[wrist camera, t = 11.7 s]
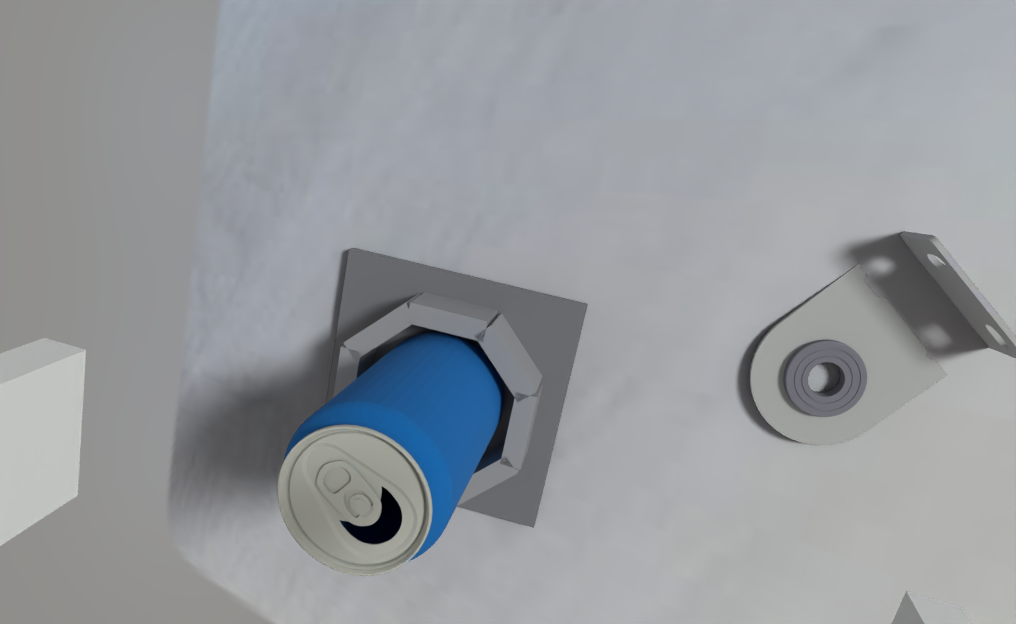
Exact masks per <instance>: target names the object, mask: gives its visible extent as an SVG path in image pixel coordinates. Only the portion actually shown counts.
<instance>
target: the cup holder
mask: <svg viewBox="0 0 1016 624" xmlns="http://www.w3.org/2000/svg"><path fill="white" fill-rule="evenodd" d="M587 305H588V304H586V303H581V302H577V301H573V300H569V299H565V298H561V297H556V296H552V295H548V294H544V293H540V292H536V291H531V290H527V289H523V288H519V287H515V286H511V285H506V284H502V283H498V282H494V281H490V280H485V279H481V278H477V277H473V276H469V275H465V274H460V273H456V272H452V271H448V270H444V269H440V268H435V267H431V266H427V265H423V264H419V263H415V262H410V261H406V260H402V259H398V258H394V257H390V256H385V255H381V254H377V253H373V252H369V251H364V250H360V249H356V248H352V249H349V252H348V259H347V266H346V272H345V279H344V286H343V293H342V299H341V306H340V313H339V319H338V326H337V333H336V339H335V346H334V353H333V359H332V366H331V373H330V379H329V386H328V393H327V399H326V403H327V402H329V401H330V400H331V399H332V398H334V397H335V396H336V395H337V394H338V393H340V392H341V391H342V390H343V389H345V388H346V387H347V386H348V385H349V384H351V383H352V382H353V381H354V380H356V379H357V378H358V377H359V376H360V375H362V374H363V373H364V372H365V371H367V370H368V369H369V368H370V367H371V366H373V365H374V364H375V363H376V362H378V361H379V360H380V359H381V358H382V357H384V356H385V355H386V354H387V353H389V352H390V351H391V350H392V349H393V348H395V347H396V346H397V345H399V344H400V343H401V342H403V341H404V340H406V339H408V338H410V337H413V336H415V335H419V334H423V333H432V332H437V333H447V334H452V335H455V336H458V337H461V338H463V339H465V340H467V341H469V342H470V343H472V344H474V345H475V346H476V347H478V348H479V349H480V350H481V351H482V352H483V353H484V354H485V355H486V356H487V357H488V358H489V360H490V361H491V362H492V364H493V365H494V367H495V369H496V370H497V373H498V375H499V377H500V380H501V384H502V388H503V395H504V405H503V412H502V416H501V419H500V422H499V424H498V426H497V428H496V430H495V432H494V434H493V436H492V438H491V440H490V442H489V444H488V446H487V448H486V450H485V452H484V454H483V456H482V458H481V460H480V461H479V463H478V465H477V467H476V469H475V471H474V473H473V475H472V477H471V479H470V481H469V483H468V485H467V487H466V489H465V491H464V493H463V495H462V497H461V498H460V500H459V502H458V504H457V506H458V507H462V508H465V509H469V510H472V511H476V512H480V513H483V514H487V515H490V516H494V517H498V518H501V519H505V520H508V521H512V522H515V523H519V524H523V525H526V526H530V527H533V528H534V525H535V521H536V517H537V513H538V509H539V505H540V500H541V496H542V492H543V488H544V484H545V480H546V475H547V471H548V467H549V463H550V459H551V455H552V450H553V446H554V442H555V438H556V434H557V430H558V425H559V421H560V417H561V413H562V409H563V405H564V400H565V396H566V392H567V388H568V384H569V380H570V375H571V371H572V367H573V363H574V359H575V355H576V350H577V346H578V342H579V338H580V334H581V330H582V325H583V321H584V317H585V313H586V309H587Z"/></svg>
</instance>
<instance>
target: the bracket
mask: <svg viewBox="0 0 1016 624" xmlns="http://www.w3.org/2000/svg"><path fill="white" fill-rule="evenodd" d="M899 236H900V237H901V238H902V239H903V241H904V242H905V243H906V244H907V246H908V248H909V249H910V250H911V251H912V253H913V254H914V255H915V256H916V258H917V259H918V260H919V261H920V263H921V264H922V265H923V266H924V268H925V269H926V270H927V271H928V272H929V274H930V275H931V276H932V277H933V279H934V280H935V281H936V282H937V284H938V285H939V286H940V287H941V289H942V290H943V291H944V292H945V294H946V295H947V296H948V297H949V299H950V300H951V301H952V302H953V304H954V305H955V306H956V307H957V309H958V310H959V311H960V312H961V314H962V315H963V316H964V317H965V319H966V320H967V321H968V322H969V324H970V325H971V326H972V327H973V329H974V330H975V331H976V332H977V333H978V335H979V336H980V337H981V338H982V339H983V340H984V341H985V343H986V344H987V345H988V346H989V348H991V349H994V350H996V351H999V352H1001V353H1004V354H1006V355H1009V356H1011V357H1014V358H1016V336H1015V334H1014V333H1013V332H1012V331H1011V329H1010V328H1009V327H1008V326H1007V324H1006V323H1005V322H1004V321H1003V319H1002V318H1001V317H1000V316H999V314H998V313H997V312H996V311H995V309H994V308H993V307H992V306H991V304H990V303H989V302H988V301H987V299H986V298H985V297H984V296H983V294H982V293H981V292H980V291H979V289H978V288H977V287H976V286H975V284H974V283H973V282H972V281H971V279H970V278H969V277H968V276H967V274H966V273H965V272H964V271H963V269H962V268H961V267H960V266H959V264H958V263H957V262H956V261H955V259H954V258H953V257H952V256H951V254H950V253H949V252H948V251H947V249H946V248H945V247H944V245H943V244H942V243H941V242H940V241H939V240H938V239H937V238H936V237H935V236H933V235H926V234H919V233H912V232H905V231H904V232H902V233H901V234H900V235H899ZM934 255H935V256H937V257H939V258H940V259H941V260H942V261H943V262H944V263H945V264H946V265H944V264H942V263H941V262H940V261H939V260H938V259H937V258H936V257H935V256H934ZM866 276H867V274H866V273H865V272H864V270H863V269H862V268H861V267H860V265H859V264H858V265H856V266H855V267H854V268H852V269H851V270H849V271H848V272H847V273H845V274H844V275H842V276H841V277H840V278H838V279H837V280H836V281H834V282H833V283H831V284H830V285H829V286H827V287H826V288H824V289H823V290H822V291H820V292H819V293H817V294H816V295H815V296H813V297H812V298H811V299H809V300H808V301H806V302H805V303H804V304H802V305H801V306H800V307H798V308H797V309H796V310H794V311H793V312H792V313H790V314H789V315H788V316H786V317H785V318H784V319H782V320H781V321H780V322H778V323H777V324H776V325H775V326H774V327H773V328H771V329H770V330H769V332H768V333H767V334H766V335H765V336H764V337H763V339H762V340H761V342H760V343H759V345H758V347H757V349H756V351H755V353H754V356H753V359H752V362H751V368H750V389H751V393H752V397H753V400H754V402H755V404H756V407H757V408H758V410H759V412H760V413H761V415H762V416H763V417H764V419H765V420H766V421H767V422H768V423H769V424H770V425H771V426H772V427H773V428H774V429H775V430H777V431H778V432H780V433H781V434H782V435H784V436H786V437H788V438H790V439H792V440H795V441H798V442H801V443H806V444H811V445H832V444H838V443H842V442H845V441H849V440H851V439H854V438H856V437H858V436H860V435H862V434H863V433H865V432H866V431H868V430H869V429H871V428H872V427H874V426H875V425H877V424H878V423H879V422H881V421H882V420H884V419H885V418H887V417H888V416H889V415H891V414H892V413H894V412H895V411H897V410H898V409H899V408H901V407H902V406H904V405H905V404H907V403H908V402H909V401H911V400H912V399H914V398H915V397H917V396H918V395H919V394H921V393H922V392H924V391H925V390H927V389H928V388H929V387H931V386H932V385H934V384H935V383H937V382H938V381H939V380H941V379H942V378H944V377H945V376H946V375H947V374H946V372H945V371H944V370H943V369H942V367H941V366H940V365H939V364H938V362H937V361H936V360H933V359H930V358H929V357H928V356H927V354H926V347H925V346H924V345H923V344H922V342H921V341H920V340H919V339H918V338H917V336H916V335H915V334H914V333H913V331H912V330H911V329H910V328H909V326H908V325H907V324H906V323H905V321H904V320H903V319H902V318H901V316H900V315H899V314H898V313H897V311H896V310H895V309H894V308H893V306H892V305H891V304H890V303H889V301H888V300H887V299H886V298H880V297H877V296H876V295H875V294H874V293H873V291H872V290H871V289H870V288H869V286H868V285H867V284H866ZM824 362H831V363H834V364H836V365H837V366H838V368H839V371H840V379H839V382H838V383H837V385H836V386H835V387H834V388H833V389H831V390H829V391H826V392H815V391H813V390H811V389H810V387H809V385H808V375H809V373H810V371H811V370H812V369H813V368H814V367H815V366H816V365H818V364H820V363H824Z"/></svg>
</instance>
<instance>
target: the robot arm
mask: <svg viewBox="0 0 1016 624" xmlns="http://www.w3.org/2000/svg"><path fill="white" fill-rule="evenodd" d="M85 355H86V350H84V349H81V348H77V347H74V346H71V345H67V344H63V343H60V342H57V341H53V340H50V339H47V338H43V339H40V340H37V341H34V342H31V343H29V344H26V345H23V346H20V347H17V348H15V349H11V350H9V351H6V352H3V353H1V354H0V546H1V545H2V544H4V543H5V542H7V541H9V540H10V539H12V538H13V537H15V536H16V535H18V534H19V533H21V532H22V531H24V530H25V529H27V528H29V527H30V526H32V525H33V524H35V523H36V522H38V521H39V520H41V519H42V518H44V517H45V516H47V515H48V514H50V513H52V512H53V511H55V510H56V509H58V508H59V507H61V506H62V505H64V504H65V503H67V502H68V501H70V500H72V499H73V498H75V497H76V496H78V482H79V464H80V446H81V428H82V410H83V392H84V373H85ZM892 624H972V622H971V621H970V619H969V618H968V616H967V615H966V613H965V612H964V610H963V609H962V607H958V606H955V605H951V604H948V603H945V602H941V601H938V600H934V599H931V598H928V597H924V596H921V595H917V594H914V593H911V592H907V591H906V593H905V595H904V598H903V600H902V602H901V604H900V607H899V609H898V611H897V613H896V616H895V618H894V620H893V622H892Z"/></svg>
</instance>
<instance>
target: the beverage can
mask: <svg viewBox="0 0 1016 624" xmlns="http://www.w3.org/2000/svg"><path fill="white" fill-rule="evenodd" d="M503 405H504V395H503V388H502V384H501V380H500V377H499V375H498V373H497V370H496V369H495V367H494V365H493V364H492V362H491V361H490V360H489V358H488V357H487V356H486V355H485V354H484V353H483V352H482V351H481V350H480V349H479V348H478V347H476V346H475V345H474V344H472V343H470V342H469V341H467V340H465V339H463V338H461V337H458V336H455V335H452V334H447V333H437V332H432V333H423V334H419V335H415V336H413V337H410V338H408V339H406V340H404V341H403V342H401V343H400V344H399V345H397V346H396V347H395V348H393V349H392V350H391V351H390V352H389V353H387V354H386V355H385V356H384V357H382V358H381V359H380V360H379V361H378V362H376V363H375V364H374V365H373V366H371V367H370V368H369V369H368V370H367V371H365V372H364V373H363V374H362V375H360V376H359V377H358V378H357V379H356V380H354V381H353V382H352V383H351V384H349V385H348V386H347V387H346V388H345V389H343V390H342V391H341V392H340V393H338V394H337V395H336V396H335V397H334V398H332V399H331V400H330V401H329V402H327V403H326V404H325V405H324V406H323V407H321V408H320V409H319V410H318V411H316V412H315V413H314V414H313V415H312V416H310V417H309V418H308V419H307V420H306V421H305V422H304V423H303V424H302V425H301V426H300V427H299V428H298V430H297V431H296V433H295V434H294V436H293V438H292V440H291V441H290V443H289V445H288V448H287V451H286V454H285V458H284V462H283V464H282V467H281V470H280V473H279V478H278V489H277V493H278V503H279V507H280V511H281V514H282V517H283V520H284V522H285V524H286V526H287V528H288V530H289V532H290V533H291V535H292V536H293V538H294V539H295V540H296V541H297V543H298V544H299V545H300V546H301V547H302V548H303V549H304V550H305V551H306V552H307V553H308V554H309V555H311V556H312V557H313V558H314V559H316V560H317V561H319V562H321V563H322V564H324V565H326V566H328V567H330V568H332V569H334V570H337V571H340V572H343V573H347V574H352V575H360V576H372V575H379V574H383V573H387V572H390V571H393V570H395V569H397V568H399V567H401V566H402V565H404V564H405V563H407V562H408V561H410V560H412V559H415V558H416V557H418V556H419V555H421V554H423V553H424V552H425V551H427V550H428V549H429V548H430V547H431V546H432V545H433V544H434V543H435V542H436V541H437V540H438V538H439V537H440V536H441V534H442V533H443V531H444V529H445V528H446V526H447V524H448V522H449V520H450V518H451V516H452V514H453V512H454V510H455V508H456V506H457V504H458V502H459V500H460V498H461V497H462V495H463V493H464V491H465V489H466V487H467V485H468V483H469V481H470V479H471V477H472V475H473V473H474V471H475V469H476V467H477V465H478V463H479V461H480V460H481V458H482V456H483V454H484V452H485V450H486V448H487V446H488V444H489V442H490V440H491V438H492V436H493V434H494V432H495V430H496V428H497V426H498V424H499V422H500V419H501V416H502V412H503Z"/></svg>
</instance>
